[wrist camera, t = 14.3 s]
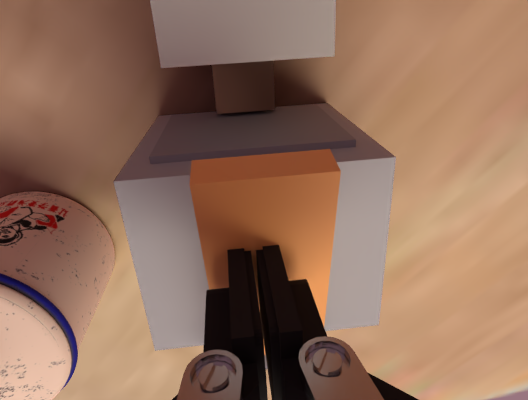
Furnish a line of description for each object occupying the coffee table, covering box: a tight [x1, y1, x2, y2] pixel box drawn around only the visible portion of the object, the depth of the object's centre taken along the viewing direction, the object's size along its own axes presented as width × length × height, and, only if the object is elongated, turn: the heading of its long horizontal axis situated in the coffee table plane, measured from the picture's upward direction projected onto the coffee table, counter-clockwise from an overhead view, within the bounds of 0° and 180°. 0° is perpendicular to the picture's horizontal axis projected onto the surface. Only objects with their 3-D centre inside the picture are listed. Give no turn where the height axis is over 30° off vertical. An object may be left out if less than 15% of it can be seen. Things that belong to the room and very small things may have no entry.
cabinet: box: [114, 103, 396, 351], centre depth 19 cm, size 10×8×10 cm
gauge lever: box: [189, 149, 341, 369], centre depth 13 cm, size 4×10×2 cm, turn 3°
